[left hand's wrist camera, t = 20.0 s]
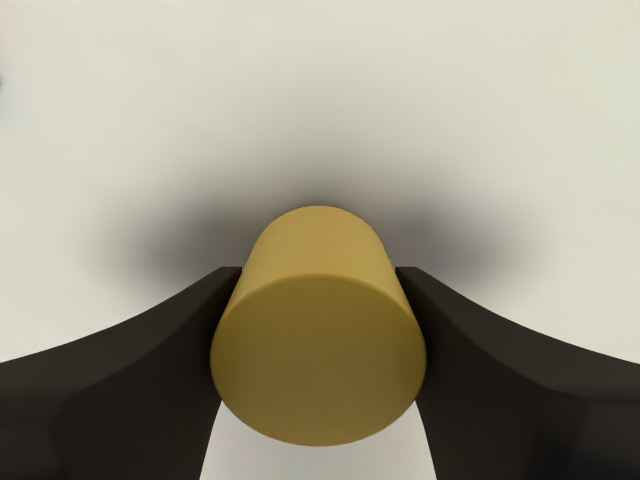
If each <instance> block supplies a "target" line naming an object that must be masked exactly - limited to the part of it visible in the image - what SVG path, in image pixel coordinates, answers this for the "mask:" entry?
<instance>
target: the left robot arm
mask: <svg viewBox="0 0 640 480" xmlns="http://www.w3.org/2000/svg"><path fill="white" fill-rule="evenodd" d="M395 273H396V276H397V278H398V280H399V282H400V285H401V287H402V289H403V291H404V293H405V296H406V298H407V300H408V302H409V305H410V307H411V309H412V311H413V313H414V316H415V318H416V320H417V322H418V325H419V327H420V329H421V332H422V335H423V337H424V340H425V345H426V351H427V365H426V372H425V377H424V380H423V384H422V387H421V389H420V391H419V393H418V395H417V397H416V398H415V402H416V404H417V407H418V410H419V413H420V416H421V419H422V422H423V425H424V429H425V433H426V437H427V441H428V445H429V449H430V453H431V457H432V461H433V465H434V469H435V474H436V478H437V480H640V364H637V363H633V362H629V361H625V360H622V359H618V358H615V357H611V356H608V355H605V354H601V353H598V352H594V351H591V350H588V349H584V348H581V347H578V346H575V345H572V344H569V343H566V342H563V341H561V340H558V339H555V338H552V337H550V336H547V335H544V334H541V333H539V332H536V331H534V330H531V329H529V328H526V327H524V326H522V325H519V324H517V323H515V322H513V321H511V320H508V319H506V318H504V317H502V316H499V315H497V314H495V313H493V312H491V311H489V310H487V309H486V308H484V307H482V306H480V305H478V304H476V303H475V302H473V301H471V300H469V299H468V298H466V297H464V296H462V295H461V294H459V293H457V292H456V291H454V290H453V289H451V288H449V287H448V286H446V285H445V284H443V283H441V282H440V281H438V280H437V279H435V278H434V277H432V276H430V275H429V274H427V273H426V272H424V271H422V270H421V269H419V268H417V267H396V269H395ZM241 274H242V267H221V268H219V269H217V270H215V271H213V272H212V273H210V274H208V275H207V276H205V277H204V278H202V279H200V280H199V281H197V282H196V283H194V284H192V285H191V286H189V287H188V288H186V289H184V290H183V291H181V292H179V293H178V294H176V295H174V296H172V297H171V298H169V299H167V300H165V301H163V302H162V303H160V304H158V305H156V306H155V307H153V308H151V309H149V310H147V311H145V312H143V313H141V314H139V315H137V316H135V317H132V318H130V319H128V320H126V321H124V322H121V323H119V324H117V325H114V326H112V327H110V328H107V329H104V330H102V331H99V332H96V333H94V334H91V335H88V336H86V337H83V338H80V339H78V340H75V341H72V342H69V343H66V344H63V345H60V346H57V347H54V348H51V349H48V350H44V351H41V352H38V353H34V354H31V355H27V356H24V357H20V358H17V359H13V360H9V361H6V362H2V363H0V480H199V479H200V475H201V471H202V466H203V462H204V458H205V455H206V451H207V447H208V443H209V439H210V435H211V431H212V428H213V424H214V421H215V418H216V415H217V412H218V409H219V407H220V404H221V401H222V399H221V397H220V396H219V394H218V392H217V390H216V388H215V385H214V382H213V379H212V375H211V368H210V348H211V343H212V339H213V336H214V333H215V331H216V328H217V326H218V324H219V322H220V319H221V317H222V315H223V313H224V311H225V308H226V306H227V304H228V302H229V300H230V298H231V295H232V293H233V291H234V289H235V287H236V285H237V282H238V280H239V278H240V276H241Z"/></svg>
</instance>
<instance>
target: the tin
mask: <svg viewBox="0 0 640 480" xmlns="http://www.w3.org/2000/svg"><path fill="white" fill-rule="evenodd" d="M426 365H427V351H426V345H425V340H424V337H423V335H422V332H421V329H420V327H419V325H418V322H417V320H416V318H415V316H414V313H413V311H412V309H411V307H410V305H409V302H408V300H407V298H406V296H405V293H404V291H403V289H402V287H401V285H400V282H399V280H398V278H397V276H396V273H395V271H394V269H393V267H392V264H391V262H390V260H389V258H388V256H387V253H386V251H385V249H384V247H383V244H382V242H381V241H380V239H379V237H378V235H377V234H376V233H375V231H374V230H373V229H372V228H371V227H370V226H369V225H368V224H367V223H366V222H365V221H363V220H362V219H361V218H359V217H358V216H356V215H354V214H352V213H350V212H348V211H345V210H343V209H339V208H335V207H330V206H308V207H302V208H298V209H295V210H292V211H290V212H287V213H285V214H283V215H282V216H280V217H278V218H277V219H275V220H274V221H273V222H272V223H270V224H269V225H268V226H267V227H266V228H265V229H264V231H263V232H262V233H261V235H260V236H259V238H258V240H257V241H256V243H255V245H254V248H253V250H252V252H251V254H250V256H249V258H248V261H247V263H246V265H245V267H244V269H243V271H242V274H241V276H240V278H239V280H238V282H237V285H236V287H235V289H234V291H233V293H232V295H231V298H230V300H229V302H228V304H227V306H226V308H225V311H224V313H223V315H222V317H221V319H220V322H219V324H218V326H217V328H216V331H215V333H214V336H213V339H212V343H211V348H210V368H211V375H212V379H213V382H214V385H215V388H216V390H217V392H218V394H219V396H220V397H221V399H222V400H223V402H224V403H225V405H226V406H227V407H228V408H229V410H230V411H231V412H232V413H233V414H234V415H235V416H236V417H237V418H239V419H240V420H241V421H242V422H243V423H245V424H246V425H248V426H249V427H251V428H252V429H254V430H256V431H257V432H259V433H261V434H263V435H265V436H268V437H270V438H273V439H275V440H279V441H282V442H286V443H290V444H296V445H303V446H334V445H341V444H346V443H351V442H354V441H358V440H361V439H364V438H366V437H369V436H371V435H374V434H375V433H377V432H379V431H381V430H383V429H385V428H386V427H388V426H389V425H391V424H392V423H393V422H395V421H396V420H397V419H398V418H399V417H400V416H402V415H403V414H404V412H405V411H406V410H407V409H408V408H409V407H410V406H411V404H412V403H413V401H414V400H415V398H416V397H417V395H418V393H419V391H420V389H421V387H422V384H423V380H424V377H425V372H426Z"/></svg>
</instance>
